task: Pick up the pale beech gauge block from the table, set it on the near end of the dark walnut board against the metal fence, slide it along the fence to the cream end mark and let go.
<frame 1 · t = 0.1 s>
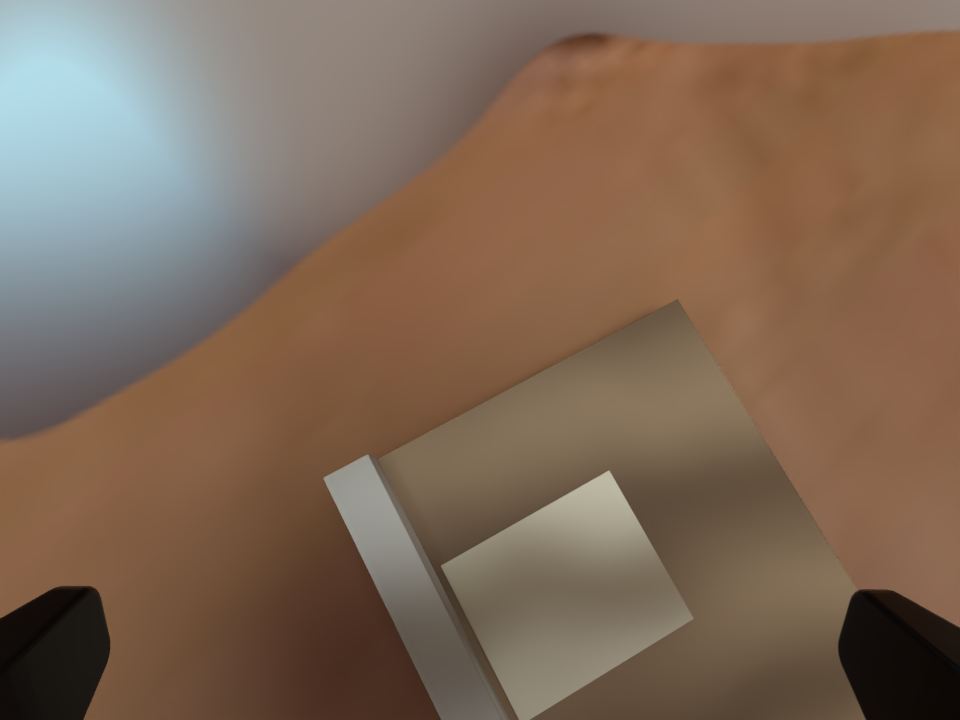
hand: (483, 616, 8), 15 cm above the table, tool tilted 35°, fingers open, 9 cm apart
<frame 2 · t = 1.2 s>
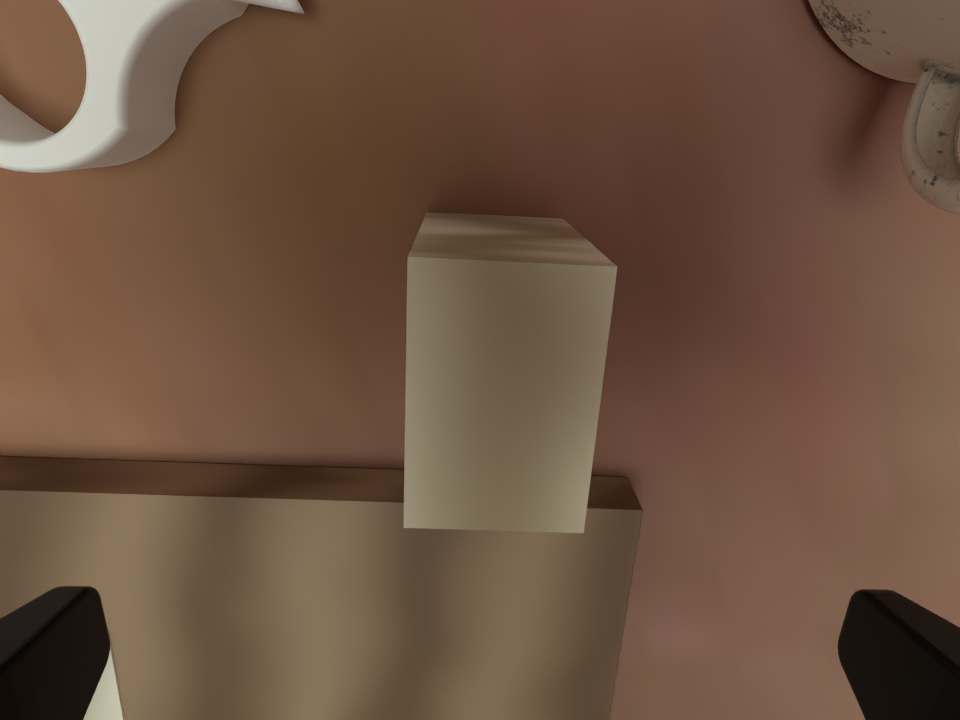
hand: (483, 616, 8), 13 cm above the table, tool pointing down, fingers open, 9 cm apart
gauge block: (489, 313, 20), on the table
walnut board: (252, 621, 23), on the table
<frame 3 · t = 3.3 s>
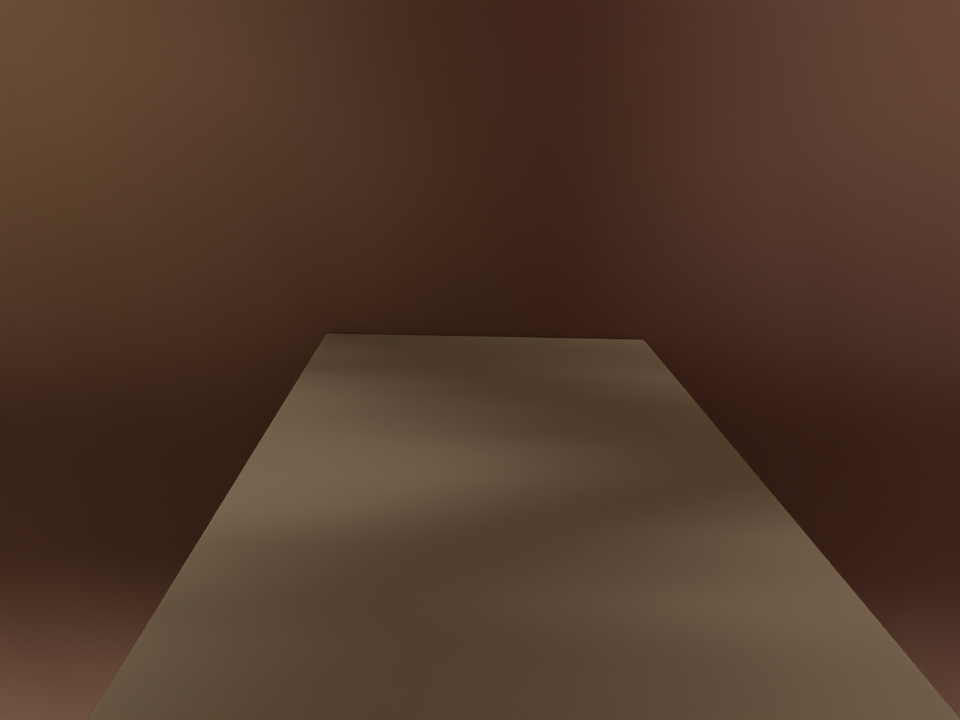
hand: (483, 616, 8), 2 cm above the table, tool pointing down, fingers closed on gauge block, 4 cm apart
gauge block: (479, 536, 9), on the table, touching gripper
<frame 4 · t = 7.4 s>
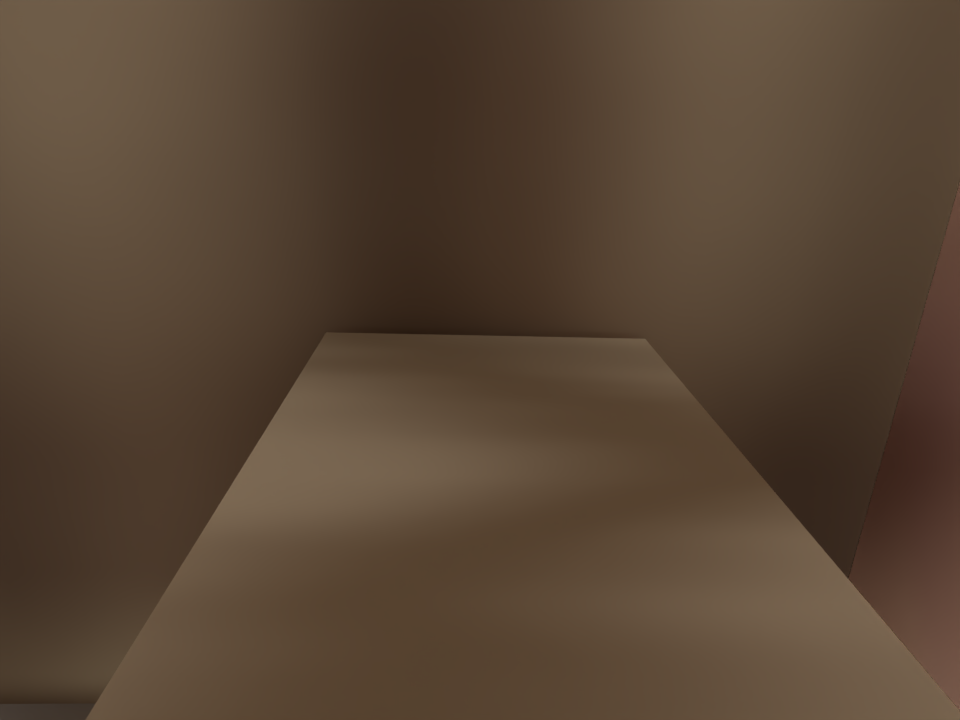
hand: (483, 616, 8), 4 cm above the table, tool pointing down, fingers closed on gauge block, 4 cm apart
gauge block: (479, 536, 9), point 2 cm above the table, touching gripper
walnut board: (31, 363, 10), on the table
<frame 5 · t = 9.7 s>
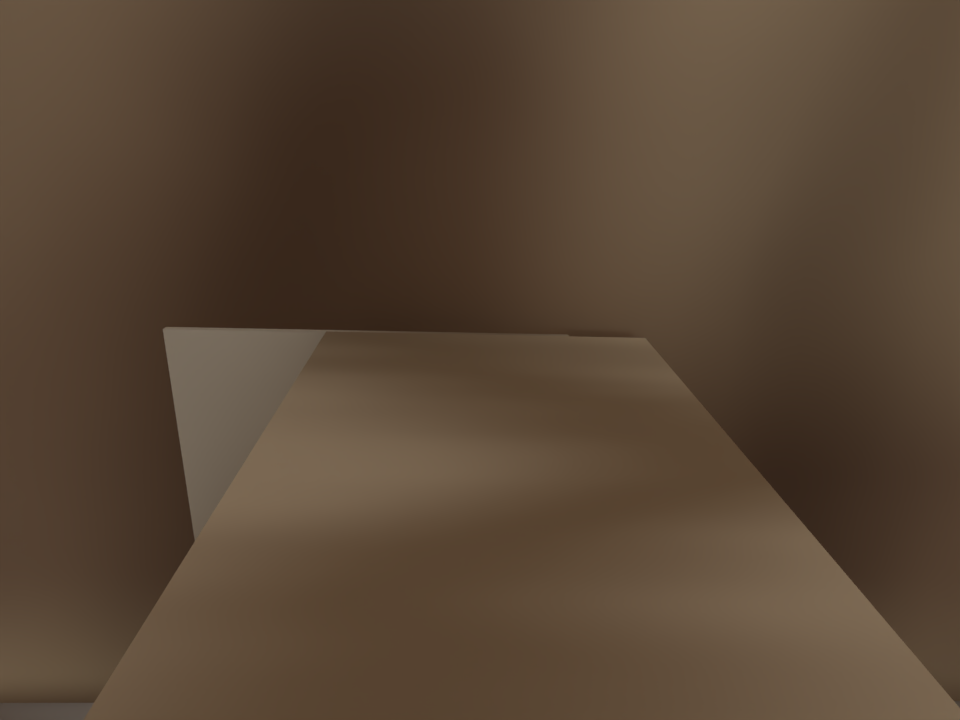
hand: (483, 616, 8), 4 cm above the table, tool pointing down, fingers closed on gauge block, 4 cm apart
gauge block: (479, 535, 9), point 2 cm above the table, touching gripper
walnut board: (771, 377, 11), on the table
when the fingers open (4 cm above the table, at t = 11.3 s): gauge block stays where it is, resting on walnut board.
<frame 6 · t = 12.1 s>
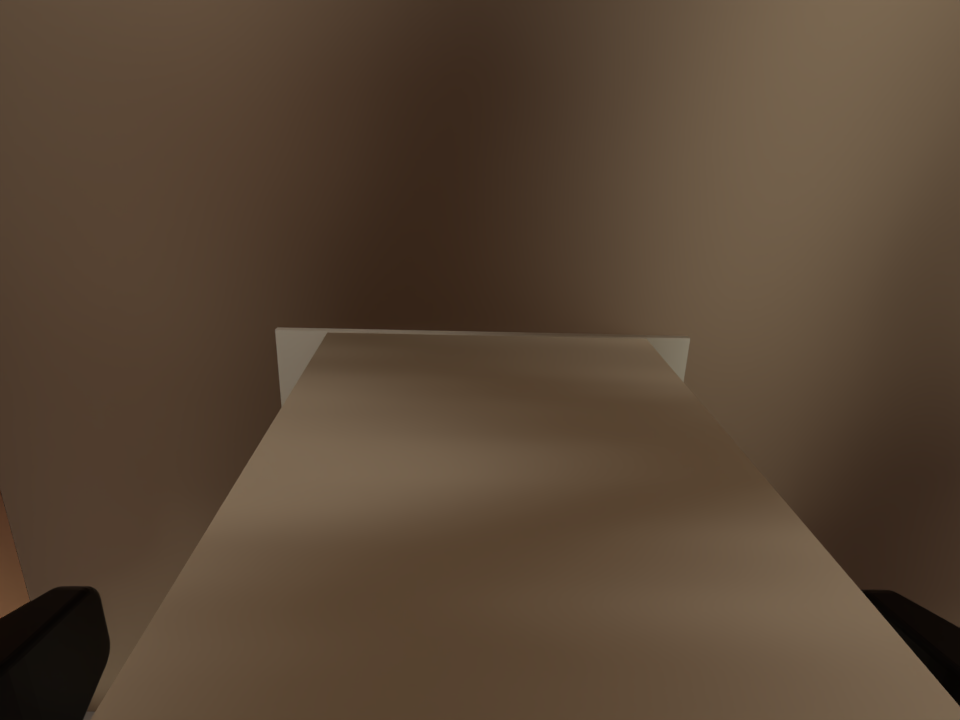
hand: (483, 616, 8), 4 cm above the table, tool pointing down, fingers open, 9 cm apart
gauge block: (480, 536, 9), point 2 cm above the table, touching walnut board
walnut board: (865, 379, 11), on the table
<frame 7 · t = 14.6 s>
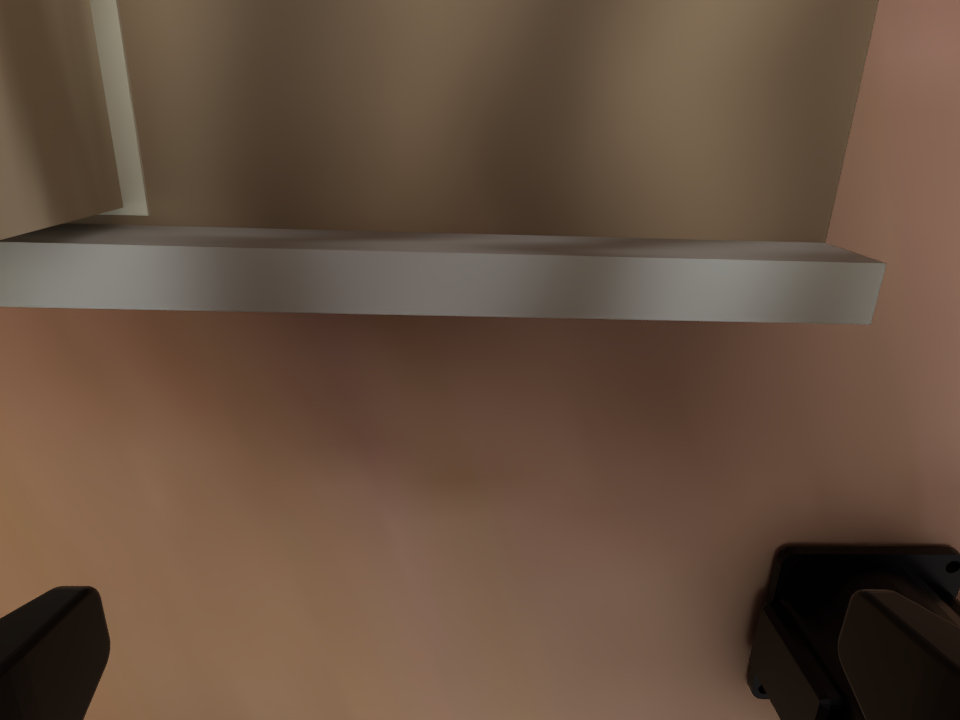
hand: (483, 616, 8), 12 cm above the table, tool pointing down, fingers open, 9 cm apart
gauge block: (9, 68, 14), point 2 cm above the table, touching walnut board
walnut board: (316, 10, 16), on the table
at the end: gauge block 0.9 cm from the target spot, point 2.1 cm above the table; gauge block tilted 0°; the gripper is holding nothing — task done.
